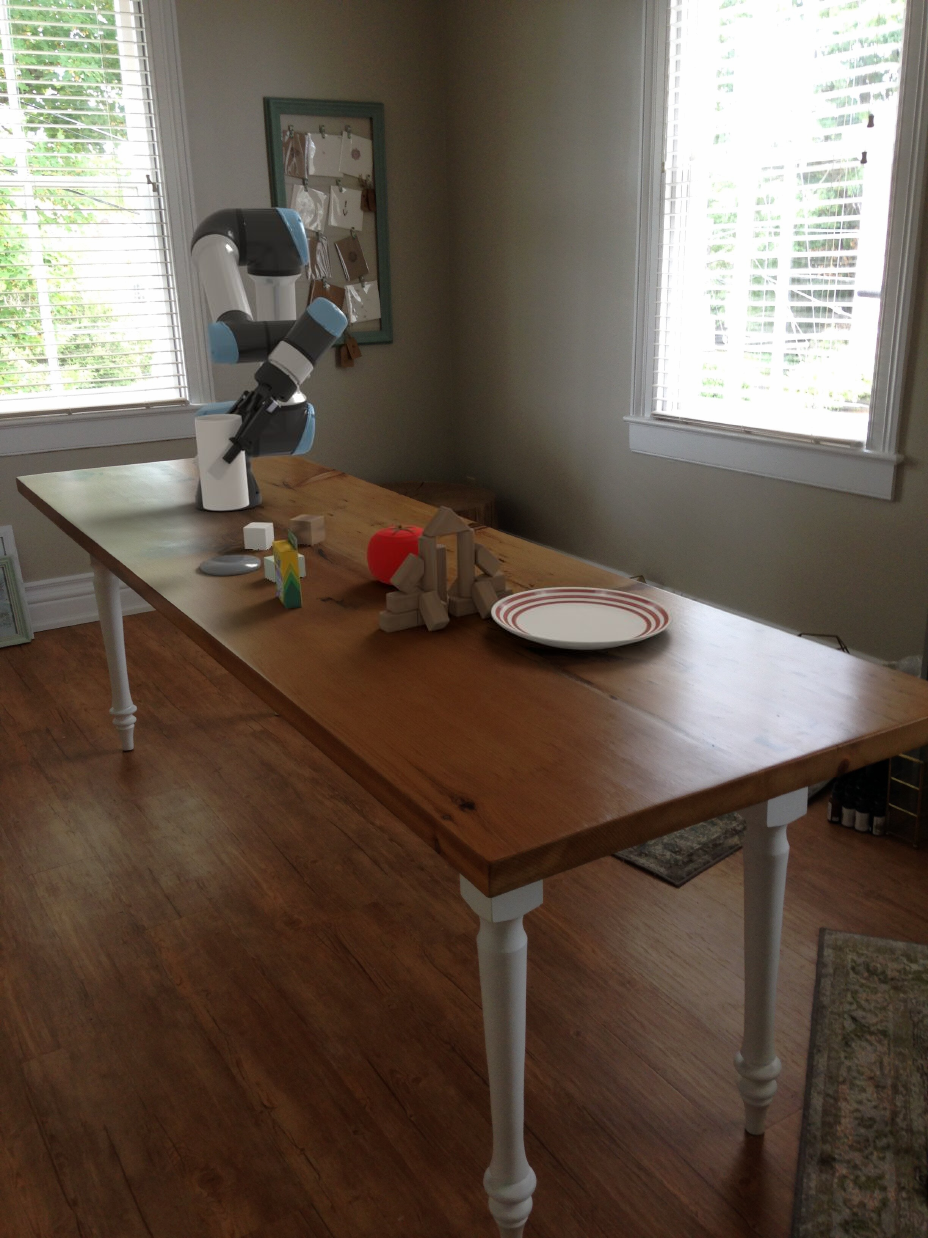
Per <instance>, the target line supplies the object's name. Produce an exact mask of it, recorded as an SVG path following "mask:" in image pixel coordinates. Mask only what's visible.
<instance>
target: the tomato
mask: <svg viewBox="0 0 928 1238" xmlns="http://www.w3.org/2000/svg"><path fill="white" fill-rule="evenodd" d="M423 530H424V528H421V527H420V526H417V525H416V526H415V525H402V524H399V525H398V524H395V525H394V526H393V525H392V526H388V527H385V528H381V529H379V530H378V531H377V532H375V533H374V534H373V535H371V538H370V539H369V541H368V543H367V544H368V545H367V549H366V562H367V567H368V569H369V571H370V574H371V575H372V577H374V578H375V579H376V580H377V581H379V582H381V583H383V584H385V585H389V586H392V587H393V586H394V585H393V584H392V583H391V582H390V579H391V578H392V577H393V575H394V574H395V573H396V571H397V570H398V569H399V567H400V566H401V564H402V563H403V562H404V560H405V559H406V558H407V556H408V555H409V554H410V553H411V554H413V555H416V556H418V557H419V551H418V537H419V536H420V535H423V534H422V531H423ZM418 583H419V581H418ZM418 583H417V584H418ZM394 587H395V586H394Z"/></svg>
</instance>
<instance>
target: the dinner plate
mask: <svg viewBox="0 0 928 1238" xmlns="http://www.w3.org/2000/svg"><path fill="white" fill-rule="evenodd" d="M491 615H492V617H491V618H492V619H493V620H494V621H495V623H497V625H499V627H502V628H503V629H505V630H506V631H508V632H510V633H511V634H514V635H516V636H518V637H520V638H524V639H525V640H528V641H532V642H534V643H538V644H542V645H545V646H549V647H554V648H559V649H566V650H581V651H583V650H584V651H585V650H586V651H587V650H591V651H592V650H594V651H595V650H604V649H611V648H617V647H621V646H624V645H625V646H626V645H630V644H633V643H637V642H641V641H643V640H647V639H648V638H649V639H650V638H652V637H653V636H655V635H657V634H658V635H659V634H660V633H661V632H663V631H665V630H667V629H668V628H669V627H670V626H671V625H672V623H673V621H674V619H673V614H672V612H671V611H670V610H669V608H667V607H666V606H665V605H663V604H661V603H660V602H658V601H656V600H654V599H650V598H649V597H645V596H642V595H639V594H635V593H630V592H625V591H621V590H615V589H607V588H597V587H585V586H584V587H583V586H561V587H560V586H558V587H557V586H556V587H544V588H538V589H530V590H527V591H526V590H525V591H521V592H517V593H513V595H510V596H508V597H505V598H503V599H501V600H500V601H498V602H497V603H496V604H495V605H494V606H493V607H492V609H491Z"/></svg>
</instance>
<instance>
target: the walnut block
mask: <svg viewBox="0 0 928 1238" xmlns="http://www.w3.org/2000/svg"><path fill="white" fill-rule="evenodd" d="M325 524H326V523H325V516H324V515H315V514H308V513H307V514H305V513H302V514H300V515H297V516H295V517H293V518H290V519H289V531H290V532H291V533H292V534H293V535H294V536H295V538H297V545H300V544H304V545H303V546H309V545H311V546H310V547H313V546H315V545H318V544H319V542H320V543H322V542H323V541H326V529H325V528H326V525H325ZM291 540H292V542H294V539H293V538H292V537H291ZM321 541H322V542H321ZM305 544H307V545H305ZM314 544H315V545H314Z"/></svg>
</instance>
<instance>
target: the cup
mask: <svg viewBox="0 0 928 1238" xmlns="http://www.w3.org/2000/svg"><path fill="white" fill-rule="evenodd" d="M241 425H242V418H241V416H240V415H236V414H213V415H204V416H199V417H196V418H195V417H194V432H195V431H196V432H195V437H196V439H195V440H196V448H197V454H198V460H199V468H198V470H199V477H200V480H201V489H202V499H203V507H204V508H205V509H208V510H219V511H218V512H221V511H220V510H234V509H240V508H243V507H246V506H248V505H249V497H248V485H247V474H246V462H245V451H241V453H240V455H239V456H238V457H237V458H236V460H235V461H234V462H233V463H232V465H231V466H230V467H229V468H228V470H227V471H226V472H225V473H224V475H223V476H222V477H221V478H220V480H217V479H216V478H215V477H214V476H212V475H211V474H210V473H209V472H207V471H206V470H207V468H208V467H209V466H210V465H211V463H212V462H213V461H214V460H215V458H216V457H217V456H218V455H219V453H220V452H221V451H222V449H223V448H224V447H225V446H226V445H227V443H228V442H231V441H230V440H229V438H231V437H235V435H236V434H237V432H238V430H239V428H240V426H241ZM231 443H232V442H231ZM232 444H233V443H232ZM234 511H235V510H234Z"/></svg>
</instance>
